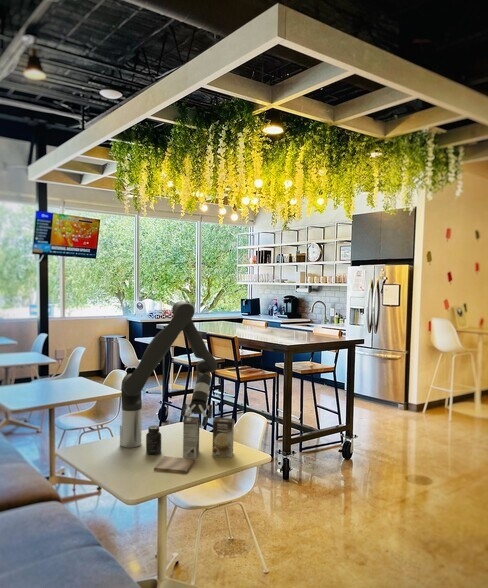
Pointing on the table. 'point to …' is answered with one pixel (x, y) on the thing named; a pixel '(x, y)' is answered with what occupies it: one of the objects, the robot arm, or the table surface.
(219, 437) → the coffee box
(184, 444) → the coffee box
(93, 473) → the table surface
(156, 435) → the supplement bottle
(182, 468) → the brown tray
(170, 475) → the table surface
